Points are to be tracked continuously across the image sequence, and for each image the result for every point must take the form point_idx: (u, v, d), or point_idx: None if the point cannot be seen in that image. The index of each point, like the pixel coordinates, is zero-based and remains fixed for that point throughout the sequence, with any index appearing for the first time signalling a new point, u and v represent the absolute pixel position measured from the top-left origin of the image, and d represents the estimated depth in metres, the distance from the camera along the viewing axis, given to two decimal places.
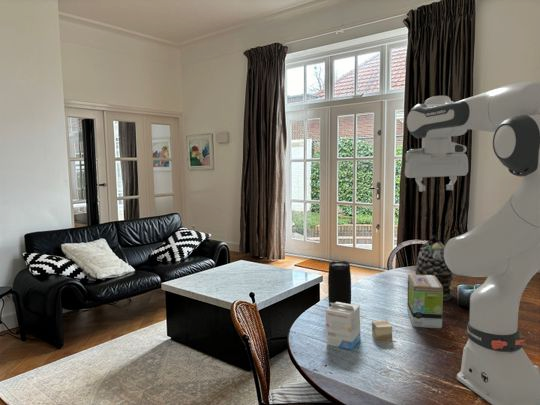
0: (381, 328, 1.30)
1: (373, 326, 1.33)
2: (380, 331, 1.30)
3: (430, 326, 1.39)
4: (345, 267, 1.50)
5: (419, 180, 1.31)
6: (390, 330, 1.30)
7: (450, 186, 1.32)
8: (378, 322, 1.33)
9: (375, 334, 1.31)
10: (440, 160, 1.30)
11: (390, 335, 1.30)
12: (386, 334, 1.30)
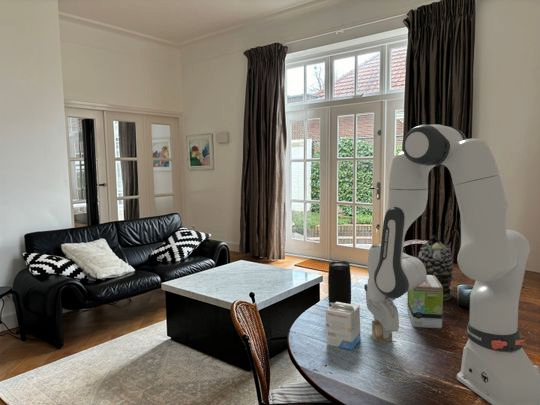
0: (381, 328, 1.30)
1: (373, 326, 1.33)
2: (380, 330, 1.30)
3: (430, 326, 1.39)
4: (345, 267, 1.50)
5: None
6: None
7: None
8: (378, 322, 1.33)
9: (375, 334, 1.31)
10: None
11: (390, 335, 1.30)
12: None
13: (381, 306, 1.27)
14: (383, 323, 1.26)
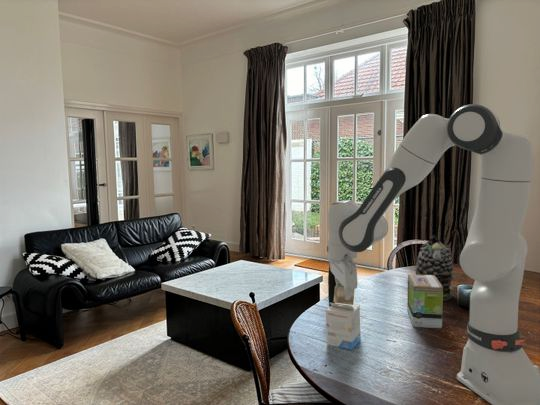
0: (343, 289, 1.28)
1: (335, 290, 1.31)
2: (342, 291, 1.27)
3: (430, 326, 1.39)
4: None
5: None
6: (352, 293, 1.28)
7: None
8: None
9: (337, 296, 1.28)
10: None
11: (351, 298, 1.27)
12: None
13: (340, 264, 1.23)
14: (342, 281, 1.22)
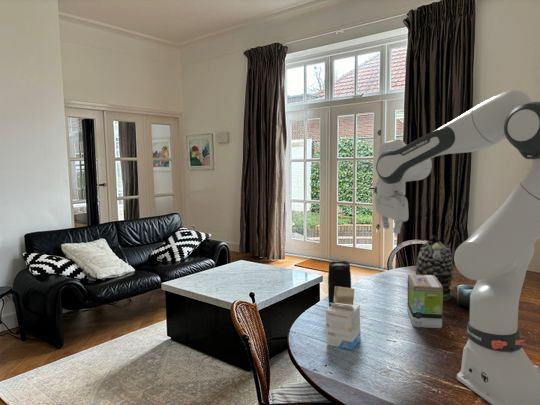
0: (343, 289, 1.28)
1: (335, 290, 1.31)
2: (342, 291, 1.27)
3: (430, 326, 1.39)
4: (345, 267, 1.50)
5: None
6: (352, 293, 1.28)
7: None
8: None
9: (337, 296, 1.28)
10: None
11: (351, 298, 1.28)
12: (347, 296, 1.27)
13: (391, 200, 1.31)
14: (393, 215, 1.29)
